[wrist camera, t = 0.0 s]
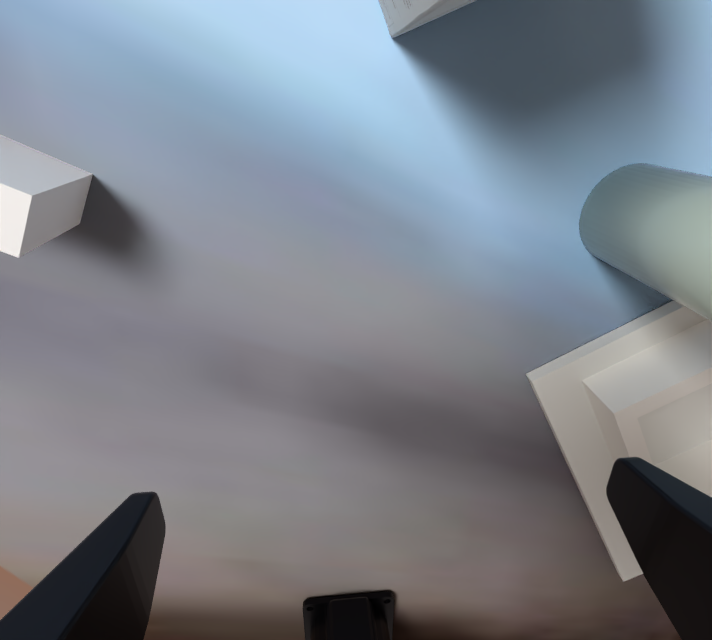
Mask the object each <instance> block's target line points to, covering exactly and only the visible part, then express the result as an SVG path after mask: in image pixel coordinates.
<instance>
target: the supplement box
mask: <svg viewBox="0 0 712 640" xmlns="http://www.w3.org/2000/svg"><path fill="white" fill-rule="evenodd" d="M474 1H476V0H379V3H380V6H381V9H382V12H383V15H384V18H385V21H386V24H387V27H388V30H389V33H390V36H391V37H393V38H394V37H397V36H399V35H401V34H404V33H406V32H408V31H410V30H413V29H415V28H417V27H419V26H421V25H424V24H426V23H428V22H430V21H432V20H435V19H437V18H439V17H441V16H444V15H446V14H448V13H450V12H453V11H455V10H457V9H459V8H461V7H463V6H466V5H468V4H470V3H472V2H474Z"/></svg>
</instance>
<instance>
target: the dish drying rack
mask: <svg viewBox="0 0 712 640" xmlns="http://www.w3.org/2000/svg"><path fill="white" fill-rule="evenodd" d="M526 376H527V378H528V380H529V383H530V385H531V387H532V389H533V391H534V393H535V396H536V398H537V400H538V402H539V404H540V406H541V409H542V411H543V413H544V415H545V417H546V419H547V422H548V424H549V426H550V428H551V430H552V432H553V435H554V437H555V439H556V441H557V443H558V445H559V448H560V450H561V452H562V454H563V456H564V458H565V461H566V463H567V465H568V467H569V469H570V471H571V474H572V476H573V478H574V480H575V482H576V484H577V487H578V489H579V491H580V493H581V495H582V497H583V500H584V502H585V504H586V506H587V508H588V510H589V513H590V515H591V517H592V519H593V521H594V523H595V526H596V528H597V530H598V532H599V534H600V536H601V539H602V541H603V543H604V545H605V547H606V549H607V552H608V554H609V556H610V558H611V560H612V562H613V565H614V567H615V569H616V571H617V573H618V574H619V576H620V577H621V579H622V581H623V582H624V581H627V580H629V579H632V578H634V577H636V576H639V575H641V574H643V572H642V570H641V568H640V566H639V564H638V562H637V560H636V558H635V556H634V554H633V552H632V550H631V548H630V545H629V543H628V541H627V539H626V537H625V535H624V533H623V531H622V529H621V526H620V524H619V522H618V520H617V518H616V516H615V514H614V512H613V510H612V507H611V505H610V503H609V501H608V498H607V494H606V487H607V483H608V480H609V477H610V474H611V471H612V467H613V464H614V462H615V461H616V460H617V459H618V458H624V457H639V458H641V459H643V460H645V461H647V462H649V463H650V464H652V465H654V466H656V467H658V468H660V469H661V470H663V471H665V472H667V473H669V474H670V475H672V476H674V477H676V478H678V479H679V480H681V481H683V482H685V483H687V484H688V485H690V486H692V487H694V488H696V489H697V490H699V491H701V492H703V493H705V494H706V495H708V496H710V497H712V322H711V321H710V320H708V319H706V318H704V317H703V316H701V315H699V314H697V313H695V312H694V311H692V310H690V309H688V308H686V307H685V306H683V305H681V304H679V303H677V302H676V301H674V300H673V301H671V302H669V303H667V304H665V305H663V306H661V307H659V308H657V309H655V310H653V311H651V312H649V313H647V314H645V315H643V316H641V317H639V318H637V319H635V320H633V321H631V322H629V323H627V324H625V325H623V326H621V327H619V328H617V329H615V330H613V331H611V332H609V333H607V334H605V335H603V336H601V337H599V338H597V339H595V340H593V341H591V342H589V343H587V344H585V345H583V346H581V347H579V348H577V349H575V350H573V351H571V352H569V353H567V354H565V355H563V356H561V357H559V358H557V359H555V360H553V361H551V362H549V363H547V364H545V365H543V366H541V367H539V368H537V369H534V370H532V371H530V372H528V373H526Z"/></svg>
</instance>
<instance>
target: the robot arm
mask: <svg viewBox="0 0 712 640" xmlns="http://www.w3.org/2000/svg"><path fill="white" fill-rule="evenodd" d="M606 494H607V498H608V501H609V503H610V505H611V507H612V510H613V512H614V514H615V516H616V518H617V520H618V522H619V524H620V526H621V529H622V531H623V533H624V535H625V537H626V539H627V541H628V543H629V545H630V548H631V550H632V552H633V554H634V556H635V558H636V560H637V562H638V564H639V566H640V568H641V570H642V572H643V574H644V576H645V578H646V579H647V581H648V583H649V585H650V586H651V588H652V590H653V592H654V593H655V595H656V597H657V598H658V600H659V602H660V603H661V605H662V607H663V609H664V610H665V612H666V614H667V615H668V617H669V619H670V620H671V622H672V624H673V625H674V627H675V629H676V631H677V632H678V634H679V636H680V637H681V639H682V640H712V497H710V496H708V495H706V494H705V493H703V492H701V491H699V490H697V489H696V488H694V487H692V486H690V485H688V484H687V483H685V482H683V481H681V480H679V479H678V478H676V477H674V476H672V475H670V474H669V473H667V472H665V471H663V470H661V469H660V468H658V467H656V466H654V465H652V464H650V463H649V462H647V461H645V460H643V459H641V458H639V457H624V458H618V459H617V460H616V461H615V462H614V464H613V467H612V471H611V474H610V477H609V480H608V483H607V487H606ZM164 538H165V520H164V516H163V512H162V508H161V504H160V501H159V497H158V495H157V494H156V493H155V492H141V493H134V494H132V495H130V496H129V497H128V498H127V499H126V500H125V501H124V502H123V503H122V504H121V505H120V506H119V507H118V508H117V509H116V510H115V511H113V512H112V513H111V514H110V515H109V516H108V517H107V518H106V519H105V520H104V521H103V522H102V523H101V524H100V525H99V526H98V527H97V528H96V529H95V530H94V531H93V532H92V533H91V534H90V535H88V536H87V537H86V538H85V539H84V540H83V541H82V542H81V543H80V544H79V545H78V546H77V547H76V548H75V549H74V550H73V551H72V552H71V553H70V554H69V555H68V556H67V557H66V558H65V559H63V560H62V561H61V562H60V563H59V564H58V565H57V566H56V567H55V568H54V569H53V570H52V571H51V572H50V573H49V574H48V575H47V576H46V577H45V578H44V579H43V580H42V581H41V582H40V583H39V584H37V585H36V586H35V587H34V588H33V589H32V590H31V591H30V592H29V593H28V594H27V595H26V596H25V597H24V598H23V599H22V600H21V601H20V602H19V603H18V604H17V605H16V606H15V607H14V608H13V609H12V610H10V611H9V612H8V613H7V614H6V615H5V616H4V617H3V618H2V619H1V620H0V640H143V639H144V635H145V632H146V628H147V624H148V620H149V616H150V611H151V606H152V601H153V596H154V590H155V585H156V580H157V575H158V569H159V564H160V559H161V554H162V548H163V543H164ZM393 612H394V597H393V593H391V592H387V591H386V592H376V593H365V594H355V595H344V596H333V597H323V598H312V599H307V600H305V601H304V602H303V617H304V629H305V640H392V632H393Z"/></svg>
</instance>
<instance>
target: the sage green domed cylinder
mask: <svg viewBox="0 0 712 640" xmlns="http://www.w3.org/2000/svg"><path fill="white" fill-rule="evenodd" d="M579 230H580V236H581V240H582V242H583V244H584V246H585V247H586V249H587V250H588V251H589V252H590V253H591V254H592V255H594V256H595V257H597V258H599V259H600V260H602V261H604V262H606V263H608V264H609V265H611V266H613V267H615V268H617V269H618V270H620V271H622V272H624V273H625V274H627V275H629V276H631V277H633V278H634V279H636V280H638V281H640V282H642V283H643V284H645V285H647V286H649V287H651V288H652V289H654V290H656V291H658V292H660V293H661V294H663V295H665V296H667V297H668V298H670V299H672V300H674V301H676V302H677V303H679V304H681V305H683V306H685V307H686V308H688V309H690V310H692V311H694V312H695V313H697V314H699V315H701V316H703V317H704V318H706V319H708V320H710V321H711V322H712V177H711V176H706V175H701V174H696V173H691V172H686V171H681V170H676V169H671V168H666V167H661V166H656V165H651V164H644V163H638V164H631V165H627V166H624V167H621V168H619V169H617V170H615V171H613V172H612V173H610V174H608V175H607V176H606V177H605V178H603V179H602V180H601V181H600V182H599V183H598V184H597V185H596V186H595V188H594V189H593V190H592V191H591V193H590V194H589V196H588V198H587V199H586V201H585V203H584V206H583V208H582V212H581V215H580V222H579Z"/></svg>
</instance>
